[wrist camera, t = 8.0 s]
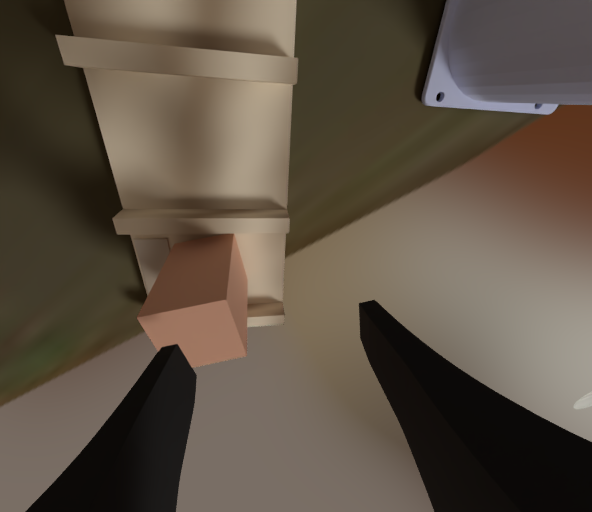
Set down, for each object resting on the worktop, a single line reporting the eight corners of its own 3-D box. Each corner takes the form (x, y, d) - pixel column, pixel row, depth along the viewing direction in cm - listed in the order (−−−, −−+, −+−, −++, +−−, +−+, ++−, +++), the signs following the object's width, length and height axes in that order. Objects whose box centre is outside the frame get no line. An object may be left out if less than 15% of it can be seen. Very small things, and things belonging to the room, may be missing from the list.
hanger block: (233, 232, 18) (226, 299, 12) (247, 279, 20) (246, 356, 14) (174, 243, 18) (136, 317, 12) (194, 289, 20) (171, 372, 14)
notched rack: (301, -187, 10) (314, -259, 8) (280, 303, 23) (284, 324, 21) (5, -259, 9) (-71, -372, 7) (157, 310, 21) (147, 333, 19)
